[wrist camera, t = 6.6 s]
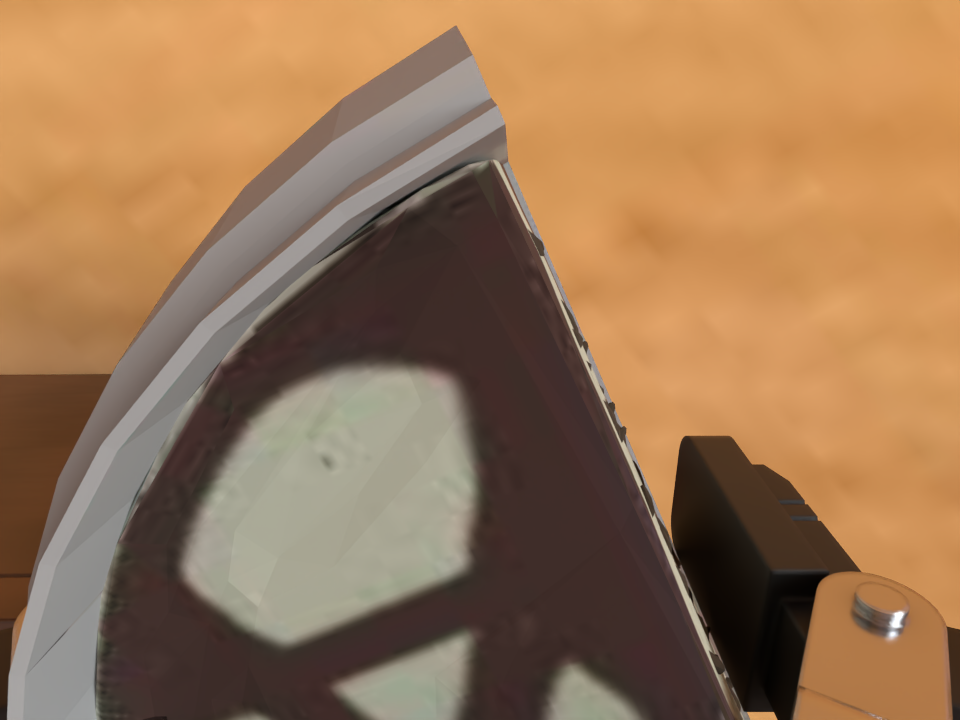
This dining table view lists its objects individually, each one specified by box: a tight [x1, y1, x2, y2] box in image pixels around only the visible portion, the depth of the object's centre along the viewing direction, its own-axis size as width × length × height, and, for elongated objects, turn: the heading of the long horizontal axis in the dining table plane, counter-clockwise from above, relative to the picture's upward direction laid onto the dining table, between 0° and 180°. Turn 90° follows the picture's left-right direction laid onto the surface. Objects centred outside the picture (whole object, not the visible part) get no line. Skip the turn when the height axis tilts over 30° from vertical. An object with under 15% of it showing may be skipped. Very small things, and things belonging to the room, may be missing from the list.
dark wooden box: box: [0, 374, 112, 630], centre depth 24 cm, size 13×17×14 cm
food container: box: [7, 26, 750, 720], centre depth 10 cm, size 12×6×10 cm, turn 25°
